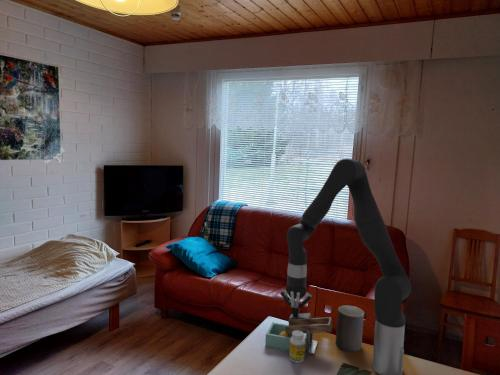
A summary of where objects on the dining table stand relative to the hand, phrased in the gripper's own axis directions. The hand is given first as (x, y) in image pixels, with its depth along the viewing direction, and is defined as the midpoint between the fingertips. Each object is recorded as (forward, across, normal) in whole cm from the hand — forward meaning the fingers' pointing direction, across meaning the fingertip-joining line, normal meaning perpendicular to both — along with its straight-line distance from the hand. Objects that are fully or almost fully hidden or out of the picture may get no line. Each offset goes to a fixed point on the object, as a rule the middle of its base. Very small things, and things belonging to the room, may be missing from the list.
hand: (294, 315), depth 148 cm
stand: (+7, -8, +10) cm, 14 cm away
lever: (0, -7, +6) cm, 9 cm away
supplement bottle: (+7, -5, +19) cm, 20 cm away
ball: (+4, +2, +10) cm, 11 cm away
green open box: (+7, +3, +10) cm, 13 cm away
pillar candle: (+7, -22, +2) cm, 23 cm away
